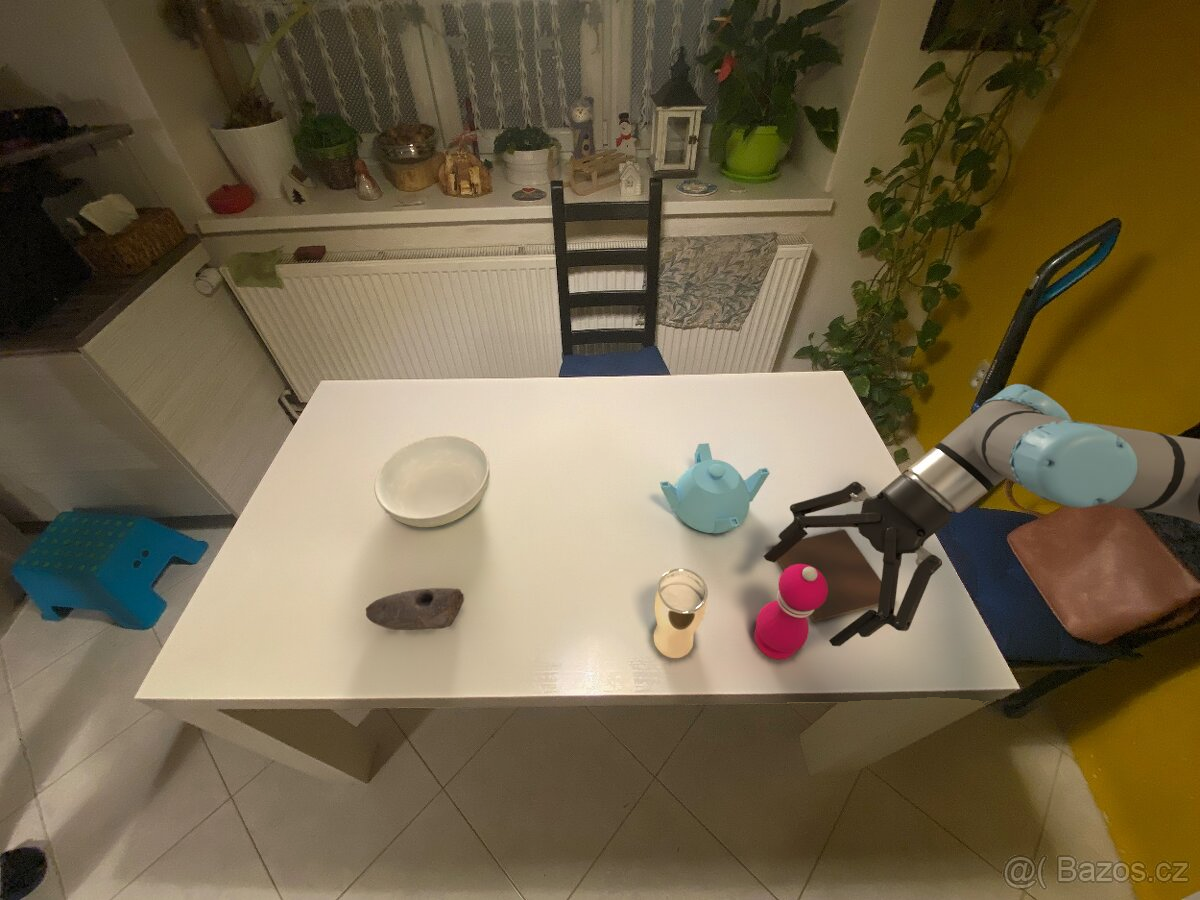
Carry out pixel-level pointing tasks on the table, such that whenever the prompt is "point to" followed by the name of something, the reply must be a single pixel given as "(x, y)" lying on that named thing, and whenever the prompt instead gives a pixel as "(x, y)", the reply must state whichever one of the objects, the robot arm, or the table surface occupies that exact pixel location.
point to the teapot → (713, 493)
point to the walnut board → (837, 573)
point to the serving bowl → (433, 480)
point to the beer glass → (678, 611)
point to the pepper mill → (790, 611)
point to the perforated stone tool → (416, 609)
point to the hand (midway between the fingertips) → (799, 598)
